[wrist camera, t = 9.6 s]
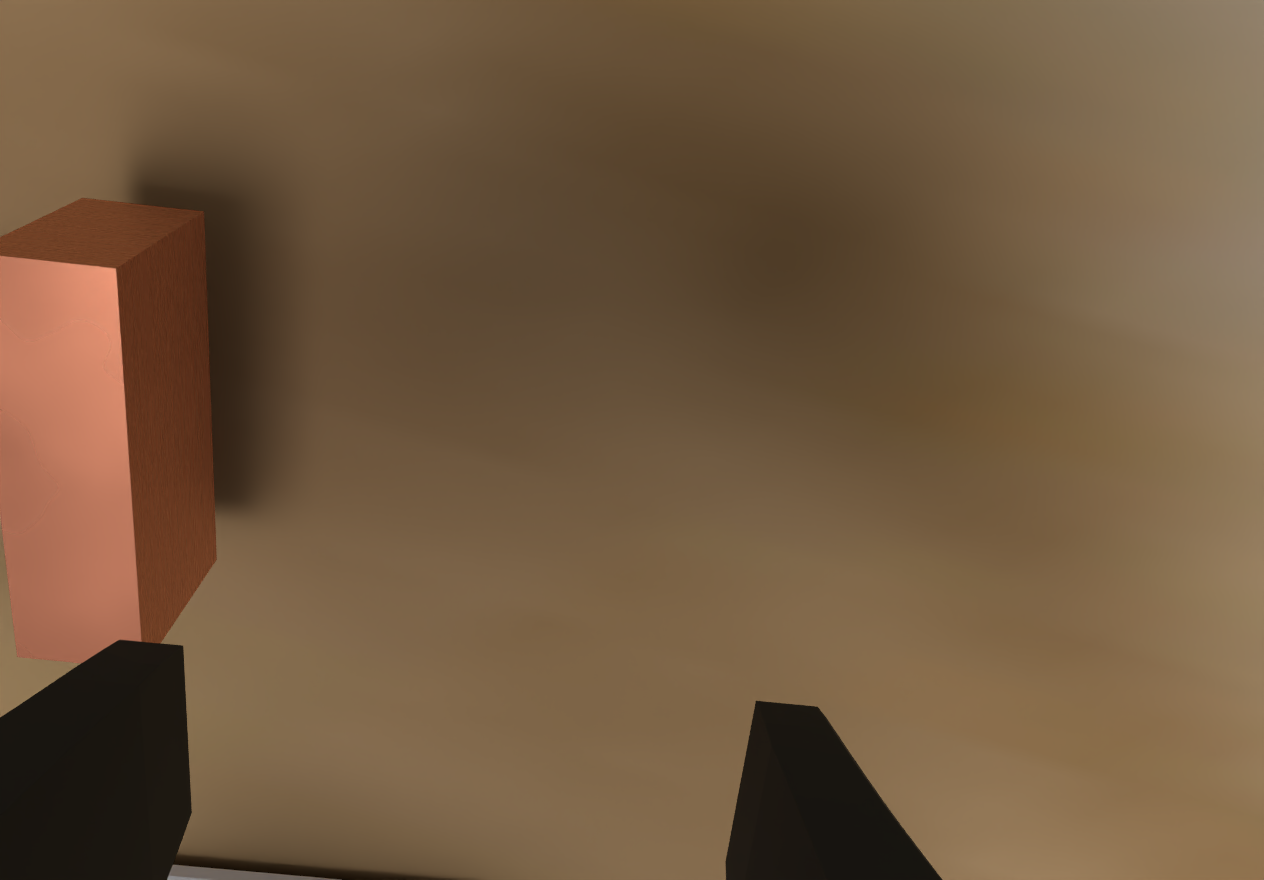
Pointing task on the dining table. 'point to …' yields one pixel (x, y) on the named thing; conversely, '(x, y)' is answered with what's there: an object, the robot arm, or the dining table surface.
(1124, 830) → the dining table surface
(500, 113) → the dining table surface
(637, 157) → the dining table surface
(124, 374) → the ram
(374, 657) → the dining table surface
